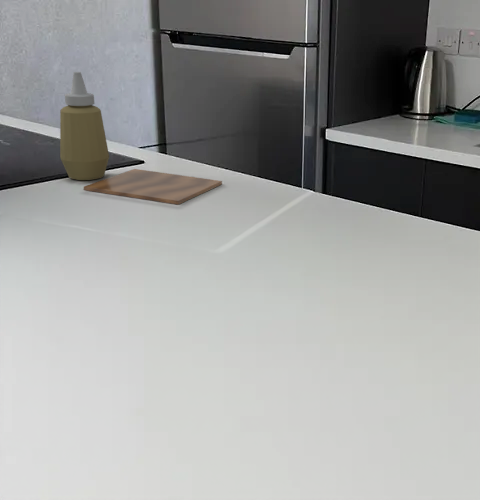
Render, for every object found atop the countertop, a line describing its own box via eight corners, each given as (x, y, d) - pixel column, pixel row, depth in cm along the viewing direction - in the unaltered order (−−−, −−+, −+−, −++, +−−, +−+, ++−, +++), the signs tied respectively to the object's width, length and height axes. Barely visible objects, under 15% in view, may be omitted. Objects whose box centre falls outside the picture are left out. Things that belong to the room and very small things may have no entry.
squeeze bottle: (119, 173, 124) (111, 71, 117) (96, 184, 116) (86, 76, 110) (78, 169, 125) (68, 68, 118) (52, 180, 117) (40, 73, 111)
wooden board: (83, 190, 113) (83, 186, 112) (134, 171, 125) (134, 168, 125) (178, 204, 107) (178, 201, 107) (222, 184, 120) (222, 180, 120)
